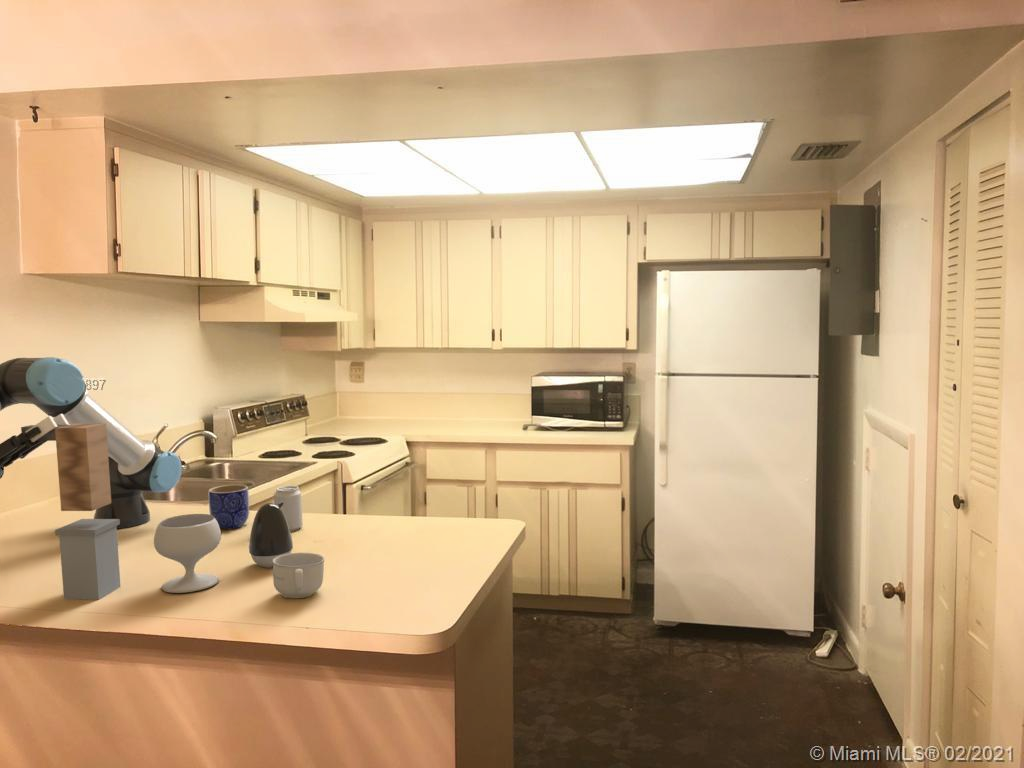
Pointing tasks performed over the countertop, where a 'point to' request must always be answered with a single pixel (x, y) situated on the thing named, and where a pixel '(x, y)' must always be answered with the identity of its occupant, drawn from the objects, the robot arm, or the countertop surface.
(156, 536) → the chalice
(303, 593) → the teacup
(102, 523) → the stand
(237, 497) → the planter
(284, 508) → the can
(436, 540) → the countertop surface
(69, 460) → the walnut handle block
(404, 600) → the countertop surface
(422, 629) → the countertop surface
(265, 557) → the pump dispenser
